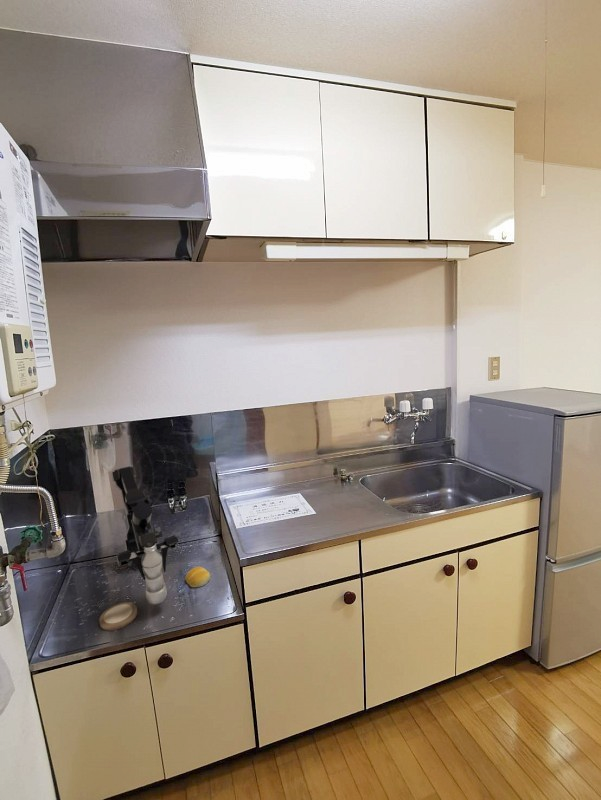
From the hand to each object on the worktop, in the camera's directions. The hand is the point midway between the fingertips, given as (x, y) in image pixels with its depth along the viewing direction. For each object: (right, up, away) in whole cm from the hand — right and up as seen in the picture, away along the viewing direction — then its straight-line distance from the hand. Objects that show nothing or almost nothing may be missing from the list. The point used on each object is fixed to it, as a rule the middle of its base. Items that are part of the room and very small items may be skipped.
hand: (154, 576), depth 126 cm
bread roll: (+9, -10, +17) cm, 22 cm away
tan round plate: (-12, -14, +1) cm, 18 cm away
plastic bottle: (0, -9, +3) cm, 10 cm away
